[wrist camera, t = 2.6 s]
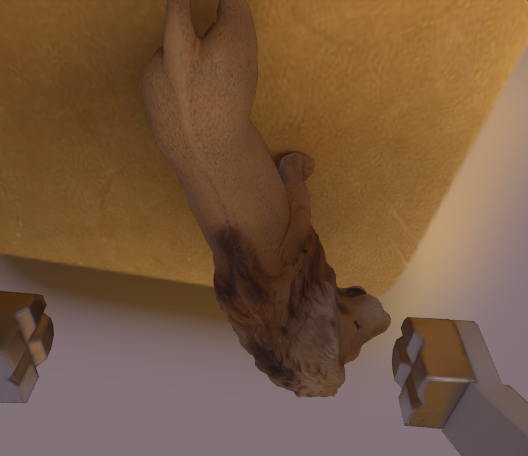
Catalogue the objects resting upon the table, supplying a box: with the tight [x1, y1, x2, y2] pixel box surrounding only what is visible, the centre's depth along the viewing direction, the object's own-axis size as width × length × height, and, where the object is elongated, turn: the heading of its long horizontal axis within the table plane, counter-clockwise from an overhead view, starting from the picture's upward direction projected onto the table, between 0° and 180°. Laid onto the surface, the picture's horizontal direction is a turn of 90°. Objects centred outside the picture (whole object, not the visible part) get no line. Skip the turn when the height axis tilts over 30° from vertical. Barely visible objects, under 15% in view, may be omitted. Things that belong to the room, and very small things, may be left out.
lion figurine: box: [142, 0, 391, 397], centre depth 15 cm, size 15×5×9 cm, turn 27°
